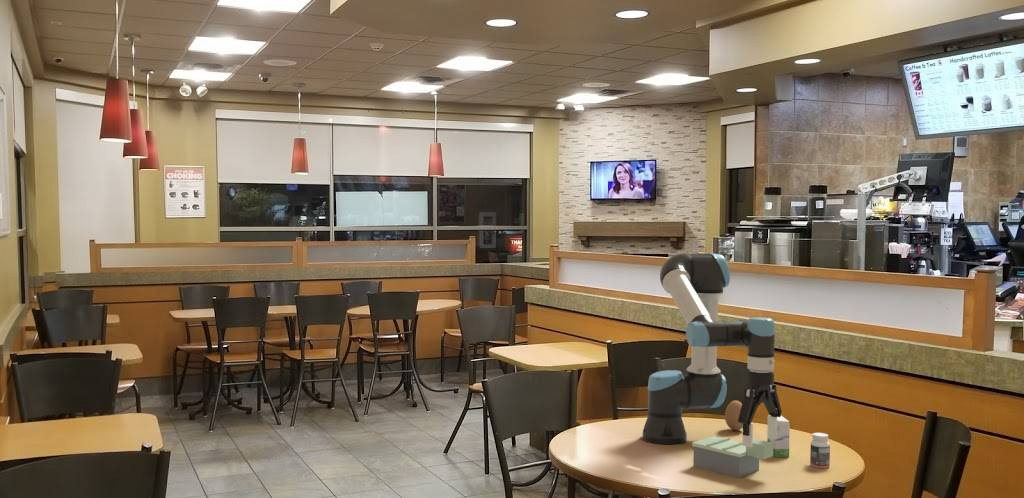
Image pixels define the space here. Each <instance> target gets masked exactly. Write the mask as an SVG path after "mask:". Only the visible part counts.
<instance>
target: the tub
mask: <svg viewBox="0 0 1024 498" xmlns="http://www.w3.org/2000/svg"><path fill="white" fill-rule="evenodd" d="M692 459H693V460H692V461H693V462H692V463H693V467H695V468H699V469H704V470H707V471H709V472H710V471H711V472H715V473H718V474H723V475H726V476H731V477H735V478H737V479H739V478H742V477H745V476H748V475H750V474H754V473H756V472H758V471H760V458H756V457H751V456H747V455H745V456H742V457H736V456H732V455H728V454H724V453H720V452H715V451H711V450H707V449H703V448H699V447H695V446H693V458H692Z"/></svg>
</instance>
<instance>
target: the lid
mask: <svg viewBox="0 0 1024 498" xmlns="http://www.w3.org/2000/svg"><path fill="white" fill-rule="evenodd" d="M694 446H695V447H699V448H703V449H707V450H711V451H715V452H720V453H724V454H728V455H732V456H736V457H742V456H745V455H747V456H751V457H756V458H759V460H760V459H761V460H766V459H770V458H772V457H774V455H773V443H772V442H767V440H762V439H758V438H753V441H752V447H747V446H743V440H742V441H737V440H732V439H731V438H730V437H720V436H714V435H713V436H710V437H707V438H702V439H700V440H696V441H693V442H692V444H691V447H694Z"/></svg>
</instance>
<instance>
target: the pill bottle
mask: <svg viewBox="0 0 1024 498" xmlns="http://www.w3.org/2000/svg"><path fill="white" fill-rule="evenodd" d="M811 437H812V440H811V441H810V457H809V458H810V459H809V461H810V463H809V464H810V466H811V467H814V468H815V469H816V468H817V469H827V468H830V464H831V463H830V462H831V444H830V442H829V434H827V433H825V432H824V433H823V432H812V436H811Z"/></svg>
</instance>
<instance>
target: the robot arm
mask: <svg viewBox="0 0 1024 498" xmlns="http://www.w3.org/2000/svg"><path fill="white" fill-rule="evenodd" d="M659 281H660V284H661V286H662V288H663V290H664V291H665V292H666V293H667V294H670V296H671V298H672V300H673V301H674V303H675V305H676V307H677V308H678V310H679V312H680V314H681V315H682V318H683V320H684V321H685V323H686V328H685V329H686V330H685V337H686V341H687V343H688V345H689V346H691V360H690V361H691V364H690V365H689V366H688V367H687V368H686V374H683V372H682V371H681V370H677V369H675V370H670V369H667V370H660V371H656V372H654V373H652V374H650V375H649V378H648V384H647V385H648V386H647V418H646V421H645V424H644V427H643V429H642V439H643V440H644V441H646V442H648V443H653V444H657V445H658V444H659V445H679V444H682V443H686V441H687V440H688V438H687V437H688V436H687V431H686V428H685V424H684V420H683V415H682V414H683V409H684V410H685V409H686V410H687V409H712V408H719V407H720V406H722V404H723V403H724V401H725V399H726V396H727V392H728V391H727V386H728V385H727V379H726V377H725V376H724V374H722V372H721V369H720V368H719V367H718V366H717V361H718V360H717V355H718V352H717V351H718V347H747V369H748V371H747V373H746V374H747V379H746V380H747V383H748V384H749V385H750V389H748V388H745V389H744V393H743V399H742V402H741V403H742V406H741V410H740V414H739V418H738V422H739V423H742V424H743V428H742V441H743V446H747V447H752V441H753V439H754V438H753V437H754V436H753V433H754V431H753V429H754V428H753V427H754V426H753V424H752V422H753V419H754V416H755V414H756V411H757V409H758V407H759V406H760V405H761V404H762V403H763V405H764V407H765V408H766V411H767V413H768V415H770V416H768V415H767V431H766V435H767V437H766V438H771V439H777V417H781V416H782V412H783V411H782V406H781V403H780V399H779V396H778V393H777V392H778V391H777V385H776V384H774V383H775V372H774V370H775V338H776V337H775V334H776V330H775V321H774V320H773V319H772V318H770V317H760V316H758V317H749V319H748V320H747V319H739V320H738V319H737V320H735V321H734V320H733V321H732V320H731V321H729V320H728V321H719V320H718V319H719V298H720V297H721V295H723V294H724V288H727V287H728V286H729V284H730V282H731V271H730V266H729V263H728V261H727V259H726V258H725V257H724V256H723V254H720V253H712V252H708V253H704V252H703V253H702V252H700V253H699V252H698V253H677V254H674V255H672V256H671V257H669V258H668V259H667V260H665V262H664V263H663V264H662V266H661V269H660V272H659Z"/></svg>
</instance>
